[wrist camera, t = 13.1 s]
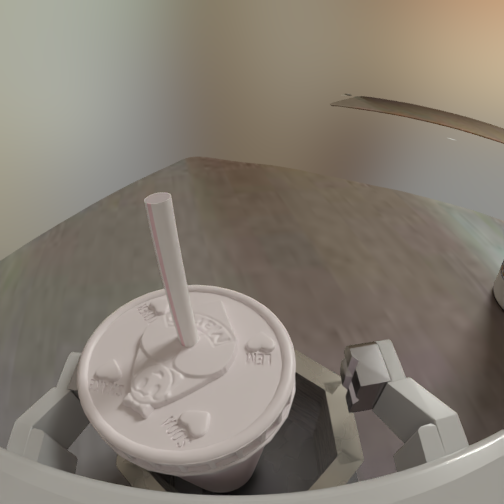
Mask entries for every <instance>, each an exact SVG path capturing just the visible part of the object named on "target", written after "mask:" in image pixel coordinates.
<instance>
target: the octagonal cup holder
mask: <svg viewBox="0 0 504 504" xmlns="http://www.w3.org/2000/svg"><path fill="white" fill-rule="evenodd" d="M294 352H295V359H296V373H295V387H296V392H295V395H294V398H293V402H292V405H291V408H290V412H289V415H288V417H287V419H286V420H285V422H284V423H283V425H282V426H281V427H280V429H279V430H278V432H277V433H276V435H275V436H274V437H273V439H272V440H271V441H270V442H269V443H268V444H266V445H265V446H264V448H263V451H262V453H261V456H260V458H259V460H258V463H257V465H256V468H255V470H254V472H253V474H252V476H251V478H250V479H249V480H248V481H247V482H246V483H245V484H244V485H243V486H241V487H240V488H238V489H235V490H233V491H229V492H212V491H208V490H205V489H203V488H201V487H199V486H196V485H194V484H192V483H190V482H188V481H186V480H184V479H182V478H180V477H178V476H174V475H168V474H163V473H158V472H153V471H148V470H146V469H144V468H142V467H140V466H138V465H136V464H134V463H132V462H130V461H128V460H126V459H124V458H122V457H121V456H119V455H117V461H116V465H117V468H118V469H119V470H120V472H121V473H122V474H123V476H124V477H125V478H126V479H127V481H128V482H129V483H130V485H131V486H132V487H135V488H141V489H148V490H155V491H163V492H172V493H183V494H197V495H266V494H281V493H292V492H301V491H309V490H316V489H323V488H329V487H335V486H341V485H346V484H351V483H356V482H358V480H357V474H356V470H357V469H358V468H359V466H360V465H361V464H362V462H363V460H364V458H363V454H362V449H361V444H360V440H359V435H358V431H357V426H356V422H355V418H354V413H349V410H348V406H347V402H346V398H345V396H346V393H347V391H348V390H347V389H346V388H345V387H343V385H342V381H341V377H340V376H338V375H337V374H335V372H331V371H330V370H328V369H326V368H325V367H323V366H321V365H320V364H318V363H316V362H315V361H313V360H311V359H310V358H308V357H306V356H305V355H303V354H301V353H300V352H298V351H296V350H295V349H294Z"/></svg>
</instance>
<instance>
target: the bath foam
mask: <svg viewBox="0 0 504 504" xmlns="http://www.w3.org/2000/svg"><path fill="white" fill-rule="evenodd" d="M493 290H494V295H495V298H496V300H497V302H498V303H499V305H500V306H501V307H502V309H503V310H504V261H503V263H502V265H501V268H500V271H499V273H498V275H497V278H496V280H495V282H494V287H493Z"/></svg>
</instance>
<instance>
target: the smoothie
mask: <svg viewBox="0 0 504 504" xmlns="http://www.w3.org/2000/svg"><path fill="white" fill-rule="evenodd" d="M144 202H145V207H146V212H147V217H148V221H149V226H150V231H151V235H152V240H153V244H154V249H155V253H156V257H157V261H158V265H159V269H160V273H161V277H162V281H163V285H164V289H161V290H157V291H154V292H150V293H147V294H145V295H143V296H140V297H138V298H136V299H133V300H132V301H130V302H128V303H127V304H125V305H123V306H122V307H120V308H118V309H117V310H116V311H114V312H113V313H112V314H111V315H110V316H108V317H107V318H106V319H105V320H104V321H103V322H102V323H101V324H100V325H99V326H98V328H97V329H96V330H95V331H94V332H93V334H92V335H91V337H90V338H89V340H88V342H87V343H86V345H85V347H84V350H83V352H82V355H81V358H80V361H79V365H78V371H77V389H78V395H79V399H80V403H81V405H82V408H83V410H84V413H85V414H86V416H87V418H88V420H89V421H90V423H91V424H92V425H93V427H94V428H95V429H96V430H97V431H98V433H99V435H100V436H101V438H102V439H103V440H104V441H105V442H106V443H107V444H108V445H109V446H110V447H111V448H112V449H113V450H114V451H115V452H116V453H117V454H118V455H119V456H121V457H122V458H124V459H126V460H128V461H130V462H132V463H134V464H136V465H138V466H140V467H142V468H144V469H146V470H148V471H153V472H158V473H163V474H168V475H174V476H178V477H180V478H182V479H184V480H186V481H188V482H190V483H192V484H194V485H196V486H199V487H201V488H203V489H205V490H208V491H212V492H229V491H233V490H235V489H238V488H240V487H241V486H243V485H244V484H245V483H246V482H247V481H248V480H249V479H250V478H251V476H252V474H253V472H254V470H255V468H256V465H257V463H258V460H259V458H260V456H261V453H262V451H263V448H264V446H265V445H266V444H268V443H269V442H270V441H271V440H272V439H273V437H274V436H275V435H276V433H277V432H278V430H279V429H280V427H281V426H282V425H283V423H284V422H285V420H286V419H287V417H288V415H289V412H290V408H291V405H292V402H293V398H294V395H295V392H296V387H295V373H296V359H295V352H294V347H293V344H292V341H291V338H290V336H289V334H288V332H287V330H286V329H285V327H284V326H283V324H282V323H281V321H280V320H279V319H278V318H277V317H276V316H275V315H274V314H273V313H272V312H271V311H270V310H269V309H268V308H266V307H265V306H264V305H262V304H261V303H259V302H258V301H256V300H254V299H252V298H251V297H249V296H246V295H244V294H242V293H239V292H236V291H233V290H229V289H225V288H220V287H216V286H205V285H187V282H186V277H185V272H184V267H183V261H182V256H181V251H180V245H179V240H178V234H177V229H176V223H175V217H174V211H173V204H172V198H171V194H169V193H164V192H163V193H155V194H152V195H150V196H148V197H146V198H145V200H144Z"/></svg>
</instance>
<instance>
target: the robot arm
mask: <svg viewBox="0 0 504 504" xmlns="http://www.w3.org/2000/svg"><path fill="white" fill-rule="evenodd" d="M344 354H345V358H344V359H343V360H342V362H341V368H340V374H341V381H342V385H343V387H345V388H346V389H347V390H348V391H347V393H346V396H345V398H346V402H347V406H348V410H349V413H353V412H360V411H366V410H371V409H373V410H372V411H373V412H374V413H375V414H376V415H377V416H378V417H379V418H380V419H381V420H382V421H383V422H384V423H385V424H386V425H387V426H388V427H389V428H390V429H391V430H392V431H393V432H394V433H395V434H396V435H397V436H398V437H399V438H400V439H401V440H402V441H403V442H404V443H405V444H404V445H403V446H402V447H401V448H400V449H399V450H398V451H397V452H396V453H395V454H394V456H393V457H394V461H395V466H396V470H397V472H396V473H393V474H389V475H385V476H381V477H378V478H373V479H369V480H365V481H361V482H356V483H351V484H346V485H341V486H335V487H329V488H323V489H316V490H309V491H301V492H292V493H281V494H266V495H197V494H183V493H172V492H163V491H155V490H148V489H141V488H135V487H129V486H123V485H118V484H113V483H109V482H104V481H100V480H95V479H91V478H87V477H84V476H80V475H76V474H75V471H76V466H77V460H78V459H77V457H76V456H75V455H73V454H72V453H71V452H69V451H68V450H67V449H68V448H69V447H70V446H71V445H72V443H73V442H74V441H75V440H76V439H77V437H78V436H79V435H80V434H81V433H82V431H83V430H84V429H85V428H86V427H87V425H88V424H89V423H90V421H89V420H88V418H87V416H86V414H85V413H84V410H83V408H82V405H81V403H80V399H79V395H78V389H77V371H78V365H79V361H80V358H81V355H82V353H78V352H72V353H71V354H70V355H69V356H68V358H67V361H66V363H65V366H64V368H63V371H62V373H61V376H60V379H59V381H58V384H57V387H56V388H55V387H53V388H52V389H51V390H49V391H48V392H47V393H46V394H45V395H44V396H43V397H42V398H40V399H39V400H38V401H37V402H36V403H35V404H34V405H33V406H31V407H30V408H29V409H28V410H27V411H26V412H25V413H24V414H23V415H21V416H20V417H19V418H18V419H17V420H16V421H15V424H14V427H13V430H12V433H11V436H10V439H9V442H8V445H7V448H6V449H4V448H2V447H0V504H504V429H503V430H501V431H499V432H497V433H495V434H493V435H491V436H489V437H487V438H485V439H483V440H481V441H479V442H477V443H474V444H472V445H470V446H469V444H468V441H467V438H466V436H465V433H464V430H463V427H462V425H461V422H460V419H459V417H458V414H457V413H456V412H455V411H453V410H452V409H451V408H449V407H448V406H447V405H445V404H444V403H443V402H441V401H440V400H439V399H438V398H436V397H435V396H434V395H432V394H431V393H430V392H428V391H427V390H426V389H424V388H423V387H422V386H421V385H419V384H418V383H417V382H415V381H414V380H413V379H411V378H410V377H409V378H406V376H405V374H404V371H403V369H402V366H401V364H400V361H399V359H398V356H397V354H396V351H395V349H394V347H393V344H392V342H391V341H390V340H382V341H377V342H368V343H362V344H355V345H349V346H346V348H345V351H344Z"/></svg>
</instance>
